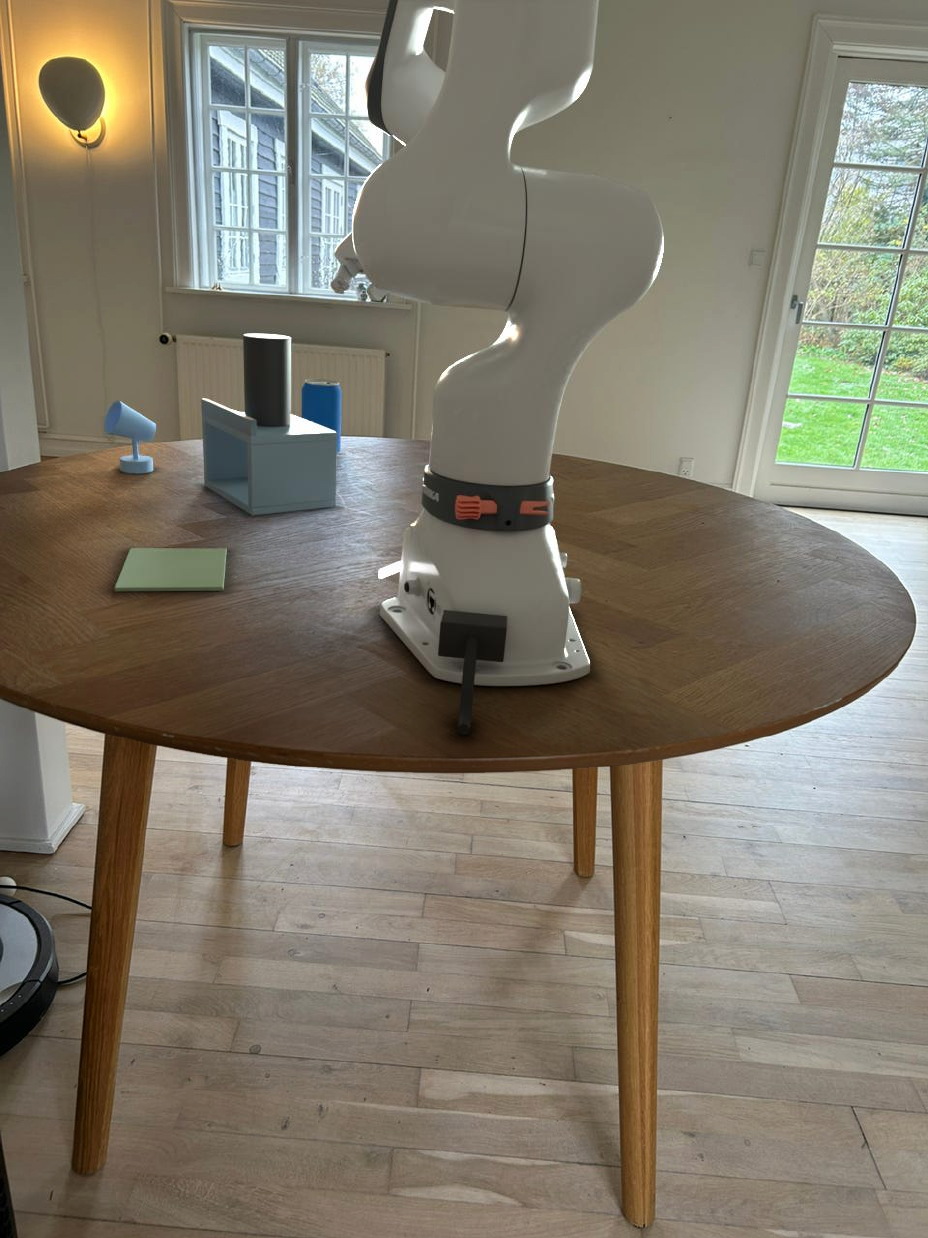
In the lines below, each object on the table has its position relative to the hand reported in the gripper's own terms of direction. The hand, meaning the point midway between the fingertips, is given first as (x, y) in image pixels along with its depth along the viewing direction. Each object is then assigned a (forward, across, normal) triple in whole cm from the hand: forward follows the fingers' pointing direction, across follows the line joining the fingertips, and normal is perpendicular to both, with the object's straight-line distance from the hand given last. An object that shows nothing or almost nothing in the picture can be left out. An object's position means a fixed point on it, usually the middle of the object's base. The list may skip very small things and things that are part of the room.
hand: (353, 293), depth 114 cm
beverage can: (+14, -21, +24) cm, 35 cm away
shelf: (+28, 0, +10) cm, 29 cm away
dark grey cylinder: (+20, 0, +3) cm, 21 cm away
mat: (+43, +23, -6) cm, 49 cm away
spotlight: (+36, -20, +2) cm, 41 cm away
